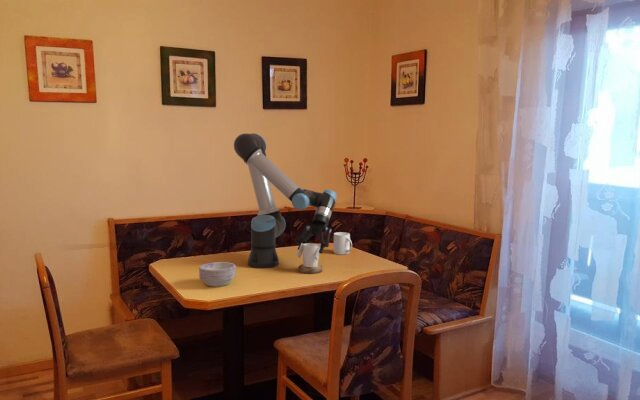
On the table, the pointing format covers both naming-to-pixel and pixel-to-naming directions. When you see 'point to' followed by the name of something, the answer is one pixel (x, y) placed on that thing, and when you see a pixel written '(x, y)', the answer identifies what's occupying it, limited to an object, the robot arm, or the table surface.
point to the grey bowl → (217, 273)
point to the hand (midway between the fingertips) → (307, 257)
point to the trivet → (310, 269)
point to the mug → (342, 243)
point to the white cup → (310, 254)
